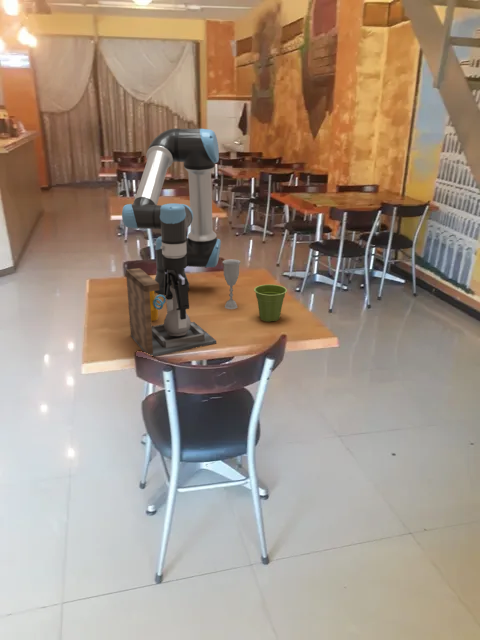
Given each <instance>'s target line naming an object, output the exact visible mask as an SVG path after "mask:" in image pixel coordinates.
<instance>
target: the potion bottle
mask: <svg viewBox="0 0 480 640" xmlns="http://www.w3.org/2000/svg"><path fill="white" fill-rule="evenodd" d="M176 286H178V285H176ZM170 291H171V292H172V294H173V298H172V299H173V310H171V311H168V313H167V312H166V315H165V317H164V321H163V324H164V328H165V330H166V331H167V334H168V335H170V336H183V335H186V334H187V333H188V330H189V329H190V325H191V322H192V321H191V319H190V316H189V314H188V313H187V312H186V322H187V327H186V328H180V329H178V317H177V310H176V309H177V308H178V303H177V298H176V293H175V289H173V286H172V285H171V286H170Z"/></svg>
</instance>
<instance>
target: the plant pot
mask: <svg viewBox="0 0 480 640" xmlns="http://www.w3.org/2000/svg"><path fill="white" fill-rule="evenodd" d="M253 292H254V293H255V296H256V300H257V307H258V313H259V319H260V320H262V321H264V322H277V321H279V320H280V318H281V312H282V308H283V302H284V298H285V296H286V293H287V292H288V289H287V288H286V287H285V286H283V285H278V284H261V285H257V286H255V287H254V288H253Z"/></svg>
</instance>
